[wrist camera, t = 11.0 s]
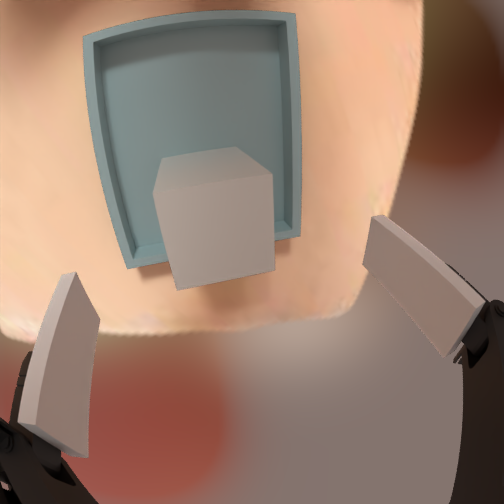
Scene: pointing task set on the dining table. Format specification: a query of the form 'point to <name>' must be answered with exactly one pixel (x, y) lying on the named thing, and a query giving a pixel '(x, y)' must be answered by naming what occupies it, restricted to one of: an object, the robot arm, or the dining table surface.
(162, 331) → the dining table surface
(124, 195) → the tray
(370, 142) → the dining table surface
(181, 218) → the beige boxy piece
